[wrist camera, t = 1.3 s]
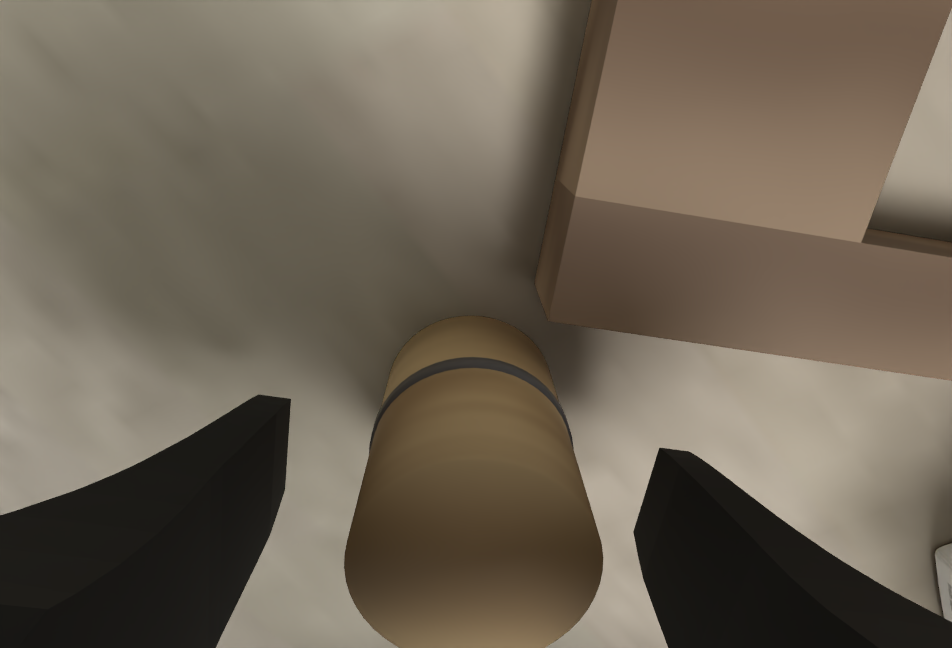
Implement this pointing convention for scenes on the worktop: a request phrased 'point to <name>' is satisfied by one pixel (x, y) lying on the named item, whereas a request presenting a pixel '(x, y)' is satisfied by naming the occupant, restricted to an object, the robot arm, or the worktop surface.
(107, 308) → the worktop surface
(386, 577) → the peg
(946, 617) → the ink box
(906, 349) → the board
